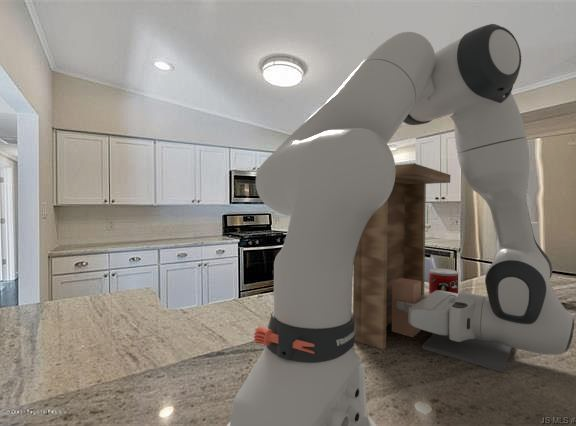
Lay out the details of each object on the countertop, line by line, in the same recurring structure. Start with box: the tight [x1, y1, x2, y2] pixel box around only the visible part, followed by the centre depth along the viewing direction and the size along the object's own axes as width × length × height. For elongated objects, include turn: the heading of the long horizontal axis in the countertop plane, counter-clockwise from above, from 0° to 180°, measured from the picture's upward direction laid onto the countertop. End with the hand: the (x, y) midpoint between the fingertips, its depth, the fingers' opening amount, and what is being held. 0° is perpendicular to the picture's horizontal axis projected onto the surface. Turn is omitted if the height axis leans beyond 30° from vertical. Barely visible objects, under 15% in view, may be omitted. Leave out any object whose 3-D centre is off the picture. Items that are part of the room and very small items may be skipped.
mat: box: [422, 333, 513, 374], centre depth 65 cm, size 14×14×1 cm
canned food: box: [428, 267, 459, 295], centre depth 91 cm, size 8×8×11 cm
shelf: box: [352, 163, 451, 351], centre depth 73 cm, size 13×26×38 cm, turn 139°
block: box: [391, 278, 421, 338], centre depth 73 cm, size 5×5×12 cm
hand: (402, 301), depth 74 cm, fingers closed on block, 5 cm apart
